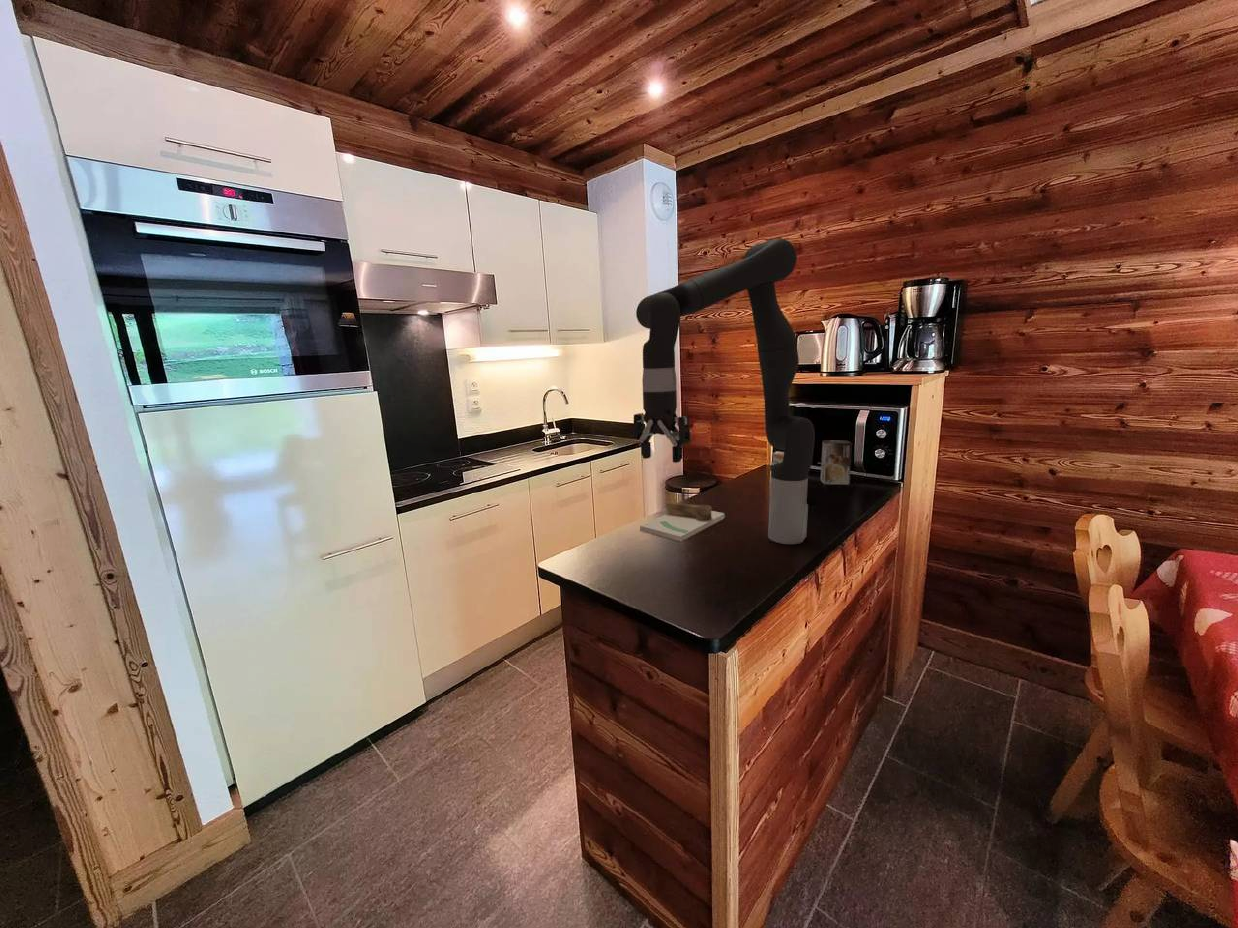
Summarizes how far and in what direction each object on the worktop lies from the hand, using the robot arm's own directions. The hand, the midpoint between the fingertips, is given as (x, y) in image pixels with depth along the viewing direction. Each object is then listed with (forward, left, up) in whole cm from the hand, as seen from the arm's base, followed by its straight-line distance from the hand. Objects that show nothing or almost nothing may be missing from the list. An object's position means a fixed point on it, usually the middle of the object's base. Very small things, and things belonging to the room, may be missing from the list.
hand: (661, 460), depth 110 cm
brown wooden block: (-25, -20, -24) cm, 40 cm away
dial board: (-22, -19, -26) cm, 39 cm away
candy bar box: (-65, -16, -26) cm, 72 cm away
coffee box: (-98, -21, -26) cm, 104 cm away
